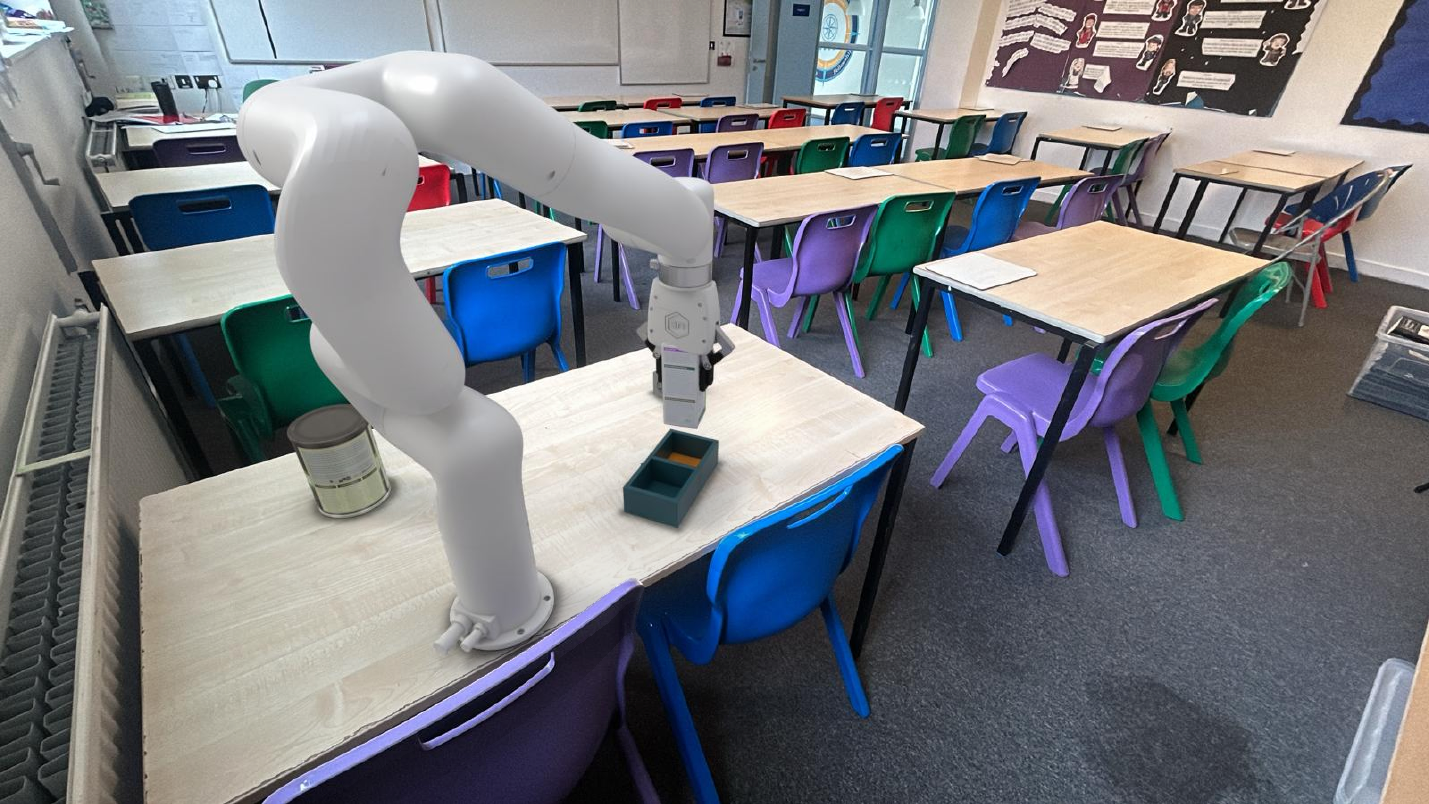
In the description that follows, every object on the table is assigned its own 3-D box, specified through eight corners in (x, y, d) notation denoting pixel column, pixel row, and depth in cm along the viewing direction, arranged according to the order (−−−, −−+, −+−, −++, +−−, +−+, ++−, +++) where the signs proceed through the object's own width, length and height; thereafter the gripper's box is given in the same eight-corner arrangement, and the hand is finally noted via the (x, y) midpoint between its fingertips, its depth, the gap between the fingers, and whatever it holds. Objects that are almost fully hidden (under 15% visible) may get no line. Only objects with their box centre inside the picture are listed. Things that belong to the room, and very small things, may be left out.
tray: (677, 528, 92) (677, 502, 89) (624, 512, 94) (622, 487, 92) (718, 463, 106) (719, 440, 103) (670, 451, 108) (670, 428, 106)
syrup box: (698, 430, 95) (700, 346, 87) (661, 424, 96) (660, 341, 88) (705, 411, 99) (708, 330, 92) (671, 406, 100) (670, 326, 93)
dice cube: (671, 385, 128) (671, 364, 126) (687, 394, 125) (687, 373, 123) (653, 392, 125) (652, 371, 123) (668, 402, 122) (667, 381, 120)
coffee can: (302, 505, 93) (270, 430, 86) (362, 469, 101) (337, 397, 94) (347, 527, 89) (318, 450, 82) (406, 488, 97) (383, 414, 90)
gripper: (617, 270, 84) (623, 382, 94) (734, 290, 79) (728, 406, 89) (641, 255, 90) (645, 362, 100) (752, 273, 85) (744, 383, 95)
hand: (684, 382), depth 94 cm, fingers closed on syrup box, 6 cm apart
